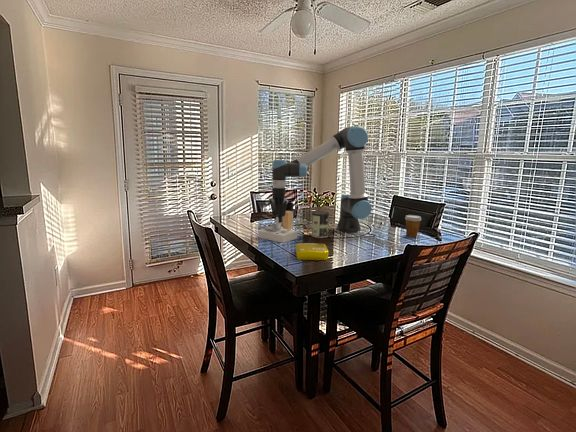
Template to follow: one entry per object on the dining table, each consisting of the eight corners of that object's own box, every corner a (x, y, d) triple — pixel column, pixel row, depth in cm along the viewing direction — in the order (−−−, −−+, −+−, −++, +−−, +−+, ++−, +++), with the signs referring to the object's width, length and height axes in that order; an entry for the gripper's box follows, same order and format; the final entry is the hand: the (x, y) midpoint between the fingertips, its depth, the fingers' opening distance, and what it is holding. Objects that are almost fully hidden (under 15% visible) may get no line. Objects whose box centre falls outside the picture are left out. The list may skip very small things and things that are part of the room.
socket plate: (297, 237, 200) (297, 231, 199) (282, 242, 189) (283, 235, 188) (273, 232, 210) (273, 226, 209) (258, 237, 199) (258, 230, 198)
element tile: (324, 251, 176) (325, 242, 175) (328, 260, 161) (329, 251, 160) (295, 251, 176) (295, 242, 175) (297, 260, 161) (297, 250, 160)
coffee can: (328, 234, 210) (329, 211, 207) (327, 238, 200) (328, 214, 197) (312, 233, 212) (312, 210, 209) (309, 237, 202) (310, 213, 199)
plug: (291, 232, 213) (292, 211, 211) (287, 233, 210) (288, 212, 208) (286, 231, 216) (286, 210, 213) (282, 232, 212) (282, 211, 210)
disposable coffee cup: (420, 234, 213) (422, 215, 210) (419, 238, 204) (421, 218, 202) (404, 232, 217) (406, 214, 214) (402, 236, 208) (404, 216, 206)
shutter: (281, 229, 202) (281, 222, 201) (273, 231, 196) (273, 224, 195) (272, 227, 206) (272, 221, 205) (264, 229, 200) (264, 222, 200)
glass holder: (279, 223, 236) (279, 202, 233) (298, 222, 240) (299, 201, 237) (283, 226, 228) (283, 204, 225) (303, 225, 232) (303, 203, 229)
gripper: (265, 186, 194) (265, 227, 199) (284, 188, 187) (283, 230, 191) (274, 185, 200) (273, 225, 205) (292, 187, 193) (291, 228, 197)
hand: (278, 227), depth 198 cm, fingers closed
